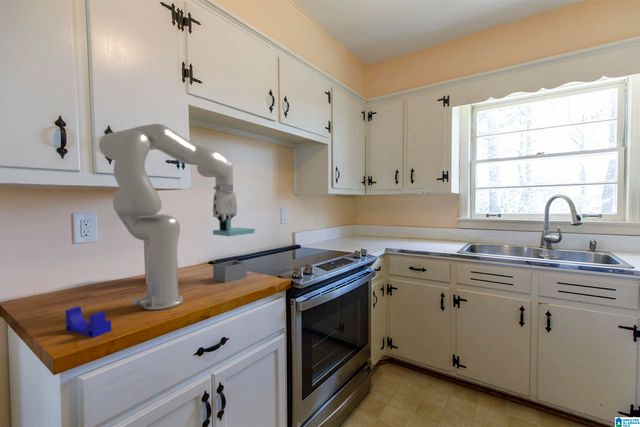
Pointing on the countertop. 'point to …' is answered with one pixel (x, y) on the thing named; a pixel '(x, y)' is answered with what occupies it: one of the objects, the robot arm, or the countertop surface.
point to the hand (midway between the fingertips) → (225, 229)
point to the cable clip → (80, 326)
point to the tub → (229, 271)
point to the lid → (232, 230)
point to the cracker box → (146, 245)
